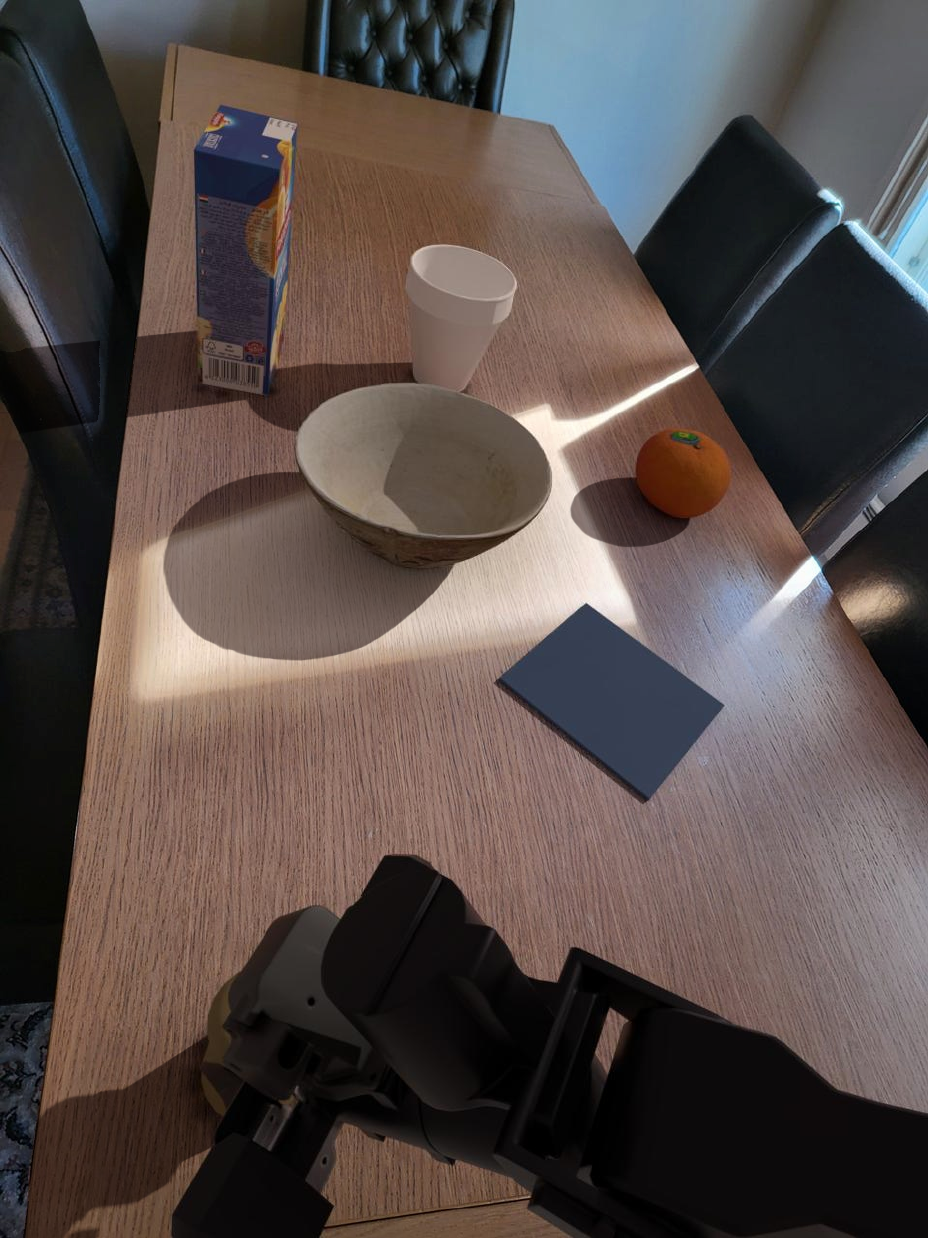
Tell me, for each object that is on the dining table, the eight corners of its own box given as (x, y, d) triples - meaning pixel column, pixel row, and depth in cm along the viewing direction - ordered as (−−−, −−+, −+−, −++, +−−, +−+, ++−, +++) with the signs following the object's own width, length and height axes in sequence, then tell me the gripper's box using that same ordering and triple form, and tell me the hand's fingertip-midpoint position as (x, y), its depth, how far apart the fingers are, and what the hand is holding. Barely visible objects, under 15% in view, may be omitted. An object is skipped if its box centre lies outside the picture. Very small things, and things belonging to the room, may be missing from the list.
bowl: (263, 459, 84) (267, 375, 77) (473, 445, 94) (494, 369, 87) (325, 635, 71) (338, 552, 64) (562, 598, 81) (597, 522, 73)
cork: (255, 990, 52) (261, 923, 44) (327, 1057, 50) (348, 1001, 42) (178, 1074, 48) (170, 1018, 40) (254, 1150, 46) (261, 1108, 38)
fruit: (728, 521, 95) (762, 466, 89) (663, 540, 90) (694, 484, 84) (670, 463, 100) (699, 408, 94) (606, 478, 95) (631, 421, 89)
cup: (448, 342, 107) (472, 238, 97) (508, 395, 102) (539, 291, 92) (370, 359, 101) (387, 249, 91) (430, 417, 96) (454, 307, 86)
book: (723, 707, 76) (724, 705, 76) (647, 801, 67) (649, 799, 67) (584, 605, 81) (586, 602, 80) (498, 680, 72) (499, 677, 72)
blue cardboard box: (267, 396, 91) (279, 169, 74) (198, 383, 90) (193, 149, 73) (283, 339, 99) (297, 122, 82) (220, 326, 98) (220, 103, 81)
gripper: (464, 779, 38) (251, 786, 47) (210, 1239, 25) (-10, 1121, 35) (567, 930, 42) (354, 908, 52) (396, 1380, 30) (157, 1242, 39)
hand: (236, 1021), depth 44 cm, fingers closed on cork, 5 cm apart
